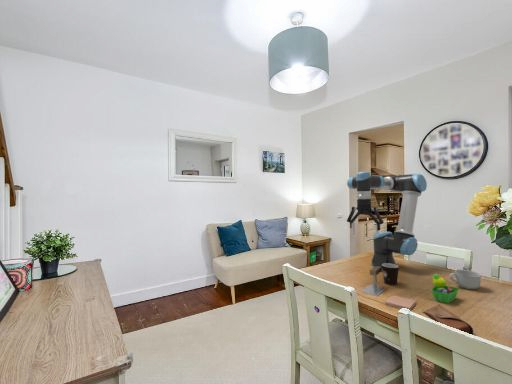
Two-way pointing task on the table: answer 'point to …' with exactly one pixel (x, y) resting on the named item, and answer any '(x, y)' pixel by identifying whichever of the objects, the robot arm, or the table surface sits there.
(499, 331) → the table surface
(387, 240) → the robot arm
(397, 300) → the tile
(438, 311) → the sunglasses case
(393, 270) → the coffee mug
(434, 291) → the fruit basket
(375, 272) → the grey post stand
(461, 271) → the teacup
